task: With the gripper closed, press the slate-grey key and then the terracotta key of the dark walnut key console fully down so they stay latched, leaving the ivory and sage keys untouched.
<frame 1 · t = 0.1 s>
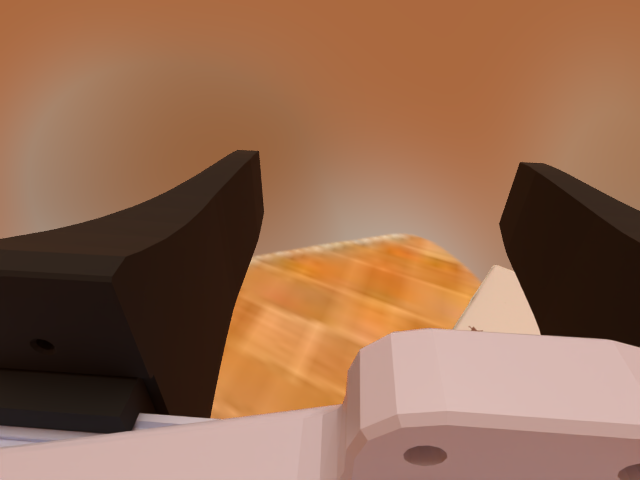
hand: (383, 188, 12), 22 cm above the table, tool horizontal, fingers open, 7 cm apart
supplement box: (482, 462, 27), on the table
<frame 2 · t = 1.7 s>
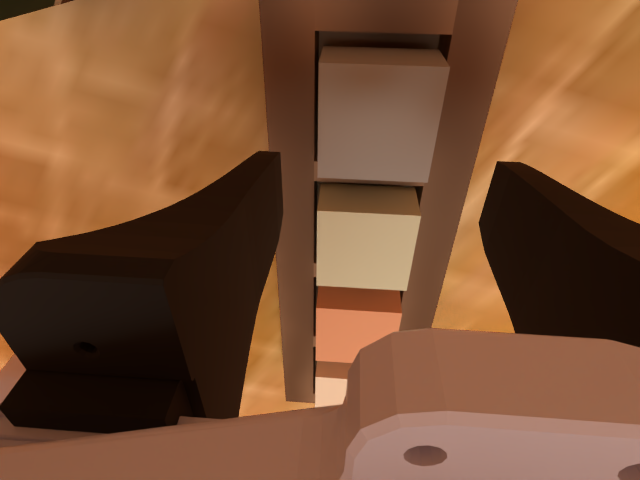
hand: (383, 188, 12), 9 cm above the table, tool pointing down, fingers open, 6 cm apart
key terracotta: (356, 321, 24), point 4 cm above the table, slide at 0.0 cm
key slate: (376, 115, 16), point 4 cm above the table, slide at 0.0 cm
key sage: (364, 237, 20), point 4 cm above the table, slide at 0.0 cm
key ivory: (350, 383, 27), point 4 cm above the table, slide at 0.0 cm
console: (359, 239, 25), on the table
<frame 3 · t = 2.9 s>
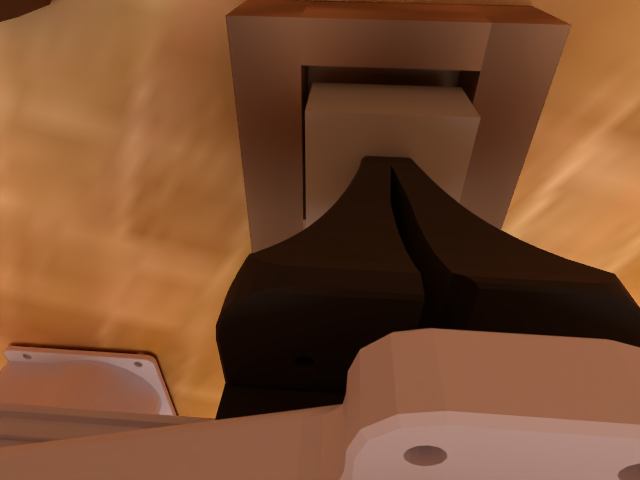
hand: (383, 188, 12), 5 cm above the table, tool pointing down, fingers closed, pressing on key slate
key slate: (380, 170, 13), point 4 cm above the table, slide at 0.1 cm, touching gripper
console: (359, 293, 21), on the table
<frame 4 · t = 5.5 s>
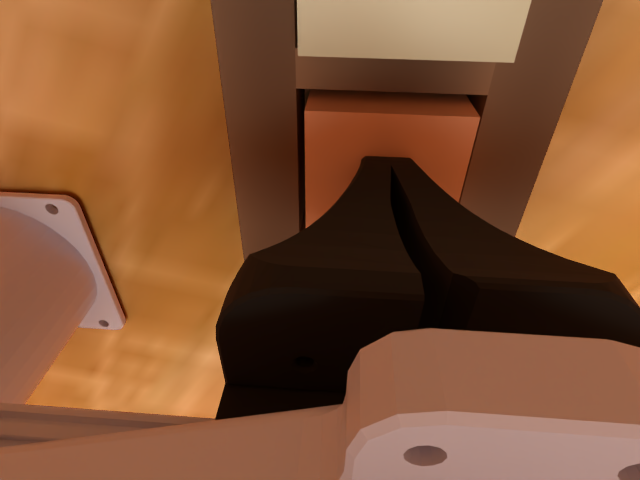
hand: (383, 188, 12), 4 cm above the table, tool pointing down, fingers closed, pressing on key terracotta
key terracotta: (380, 169, 13), point 3 cm above the table, slide at 1.2 cm, touching gripper
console: (386, 44, 13), on the table
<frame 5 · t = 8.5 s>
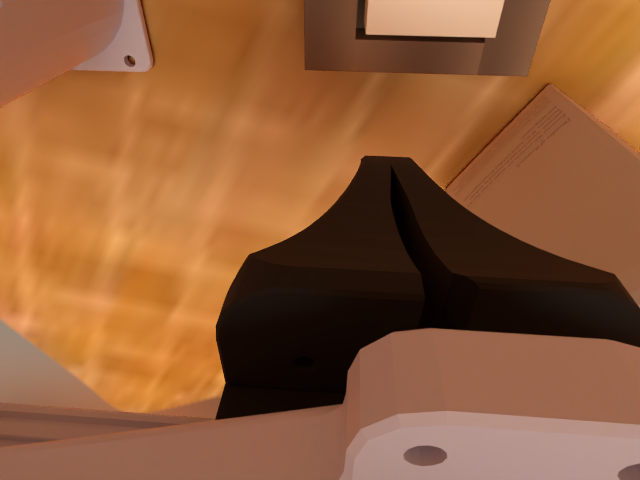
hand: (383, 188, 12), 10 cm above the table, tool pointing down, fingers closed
supplement box: (537, 172, 23), on the table
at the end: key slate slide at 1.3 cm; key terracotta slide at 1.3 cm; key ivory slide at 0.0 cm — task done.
